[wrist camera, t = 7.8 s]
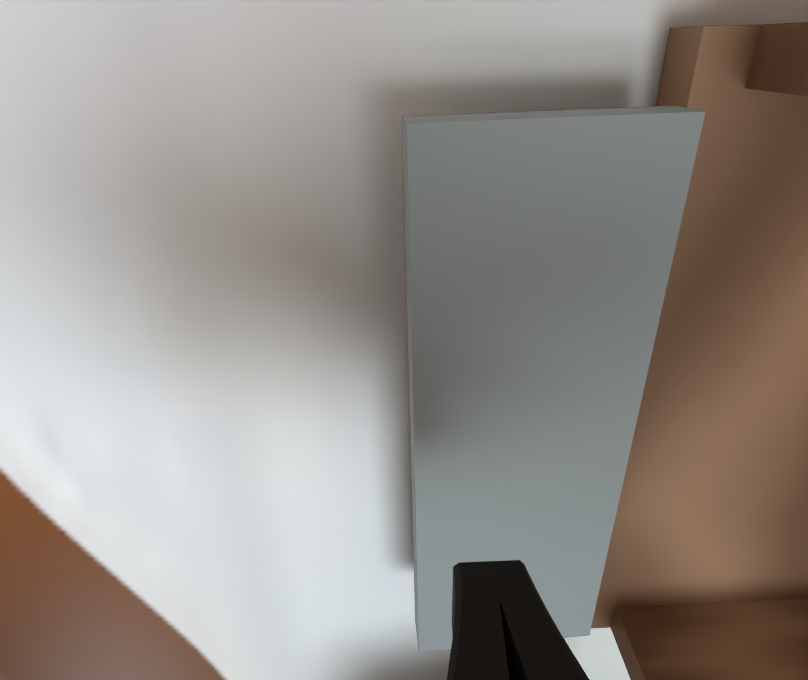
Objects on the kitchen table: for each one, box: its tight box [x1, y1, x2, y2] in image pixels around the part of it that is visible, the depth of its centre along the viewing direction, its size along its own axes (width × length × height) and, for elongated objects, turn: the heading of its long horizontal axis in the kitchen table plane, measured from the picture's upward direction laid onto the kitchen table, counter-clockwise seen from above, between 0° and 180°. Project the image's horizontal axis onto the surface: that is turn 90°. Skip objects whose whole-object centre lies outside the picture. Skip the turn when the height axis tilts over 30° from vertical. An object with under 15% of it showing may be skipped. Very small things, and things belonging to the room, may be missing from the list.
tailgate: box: [402, 106, 705, 653], centre depth 16 cm, size 2×17×6 cm
